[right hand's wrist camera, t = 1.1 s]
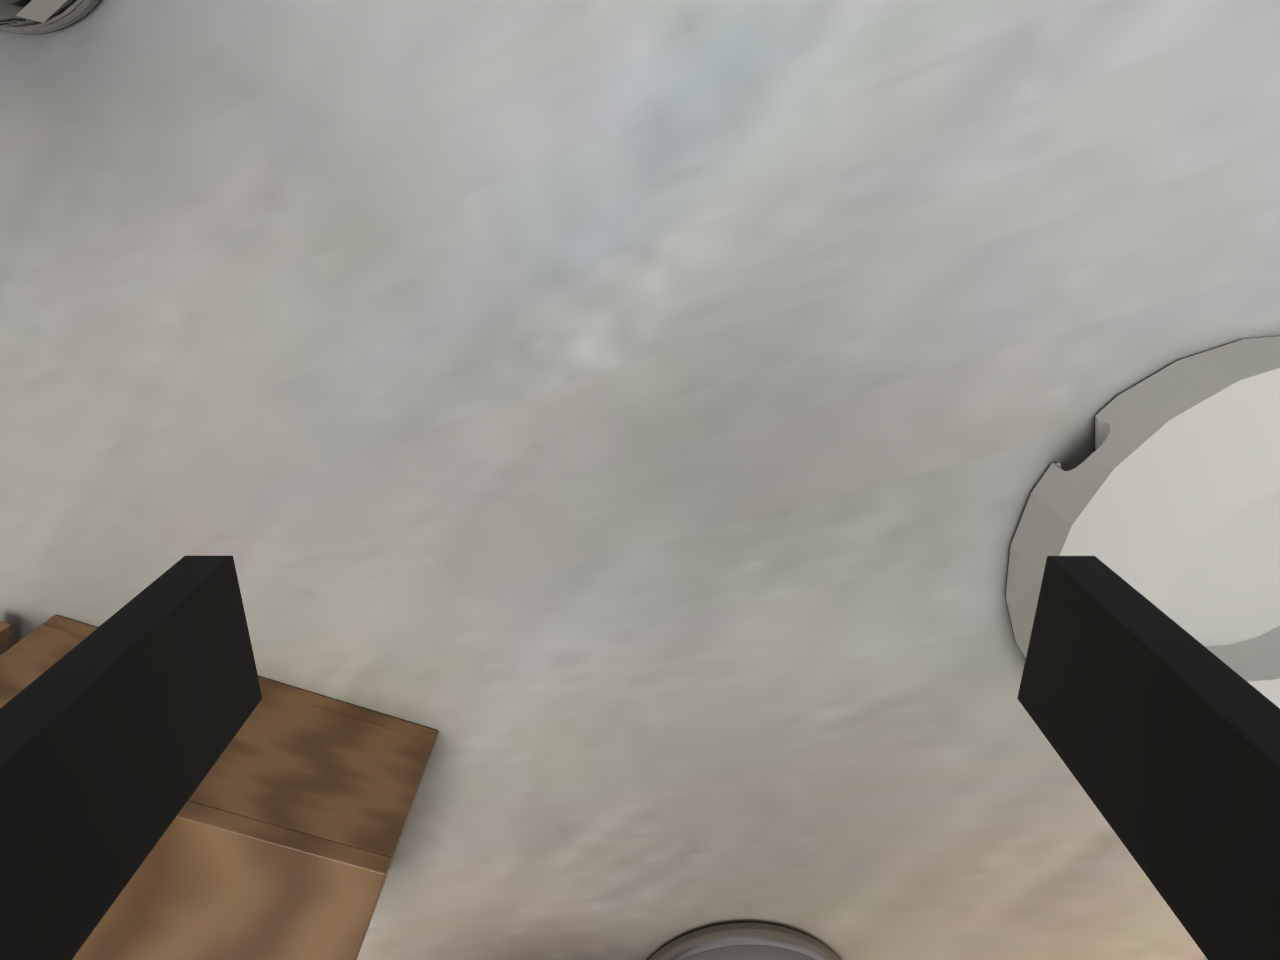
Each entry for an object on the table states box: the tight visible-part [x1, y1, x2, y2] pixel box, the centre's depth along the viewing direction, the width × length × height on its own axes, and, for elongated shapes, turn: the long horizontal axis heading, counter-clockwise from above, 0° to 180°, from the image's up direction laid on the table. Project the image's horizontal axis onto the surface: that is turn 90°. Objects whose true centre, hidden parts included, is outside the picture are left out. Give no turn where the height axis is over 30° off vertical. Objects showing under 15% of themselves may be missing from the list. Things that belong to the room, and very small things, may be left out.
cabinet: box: [0, 615, 438, 960], centre depth 41 cm, size 22×12×10 cm, turn 69°
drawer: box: [0, 621, 11, 655], centre depth 40 cm, size 26×10×8 cm, turn 69°
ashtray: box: [1006, 336, 1280, 708], centre depth 39 cm, size 23×23×4 cm
